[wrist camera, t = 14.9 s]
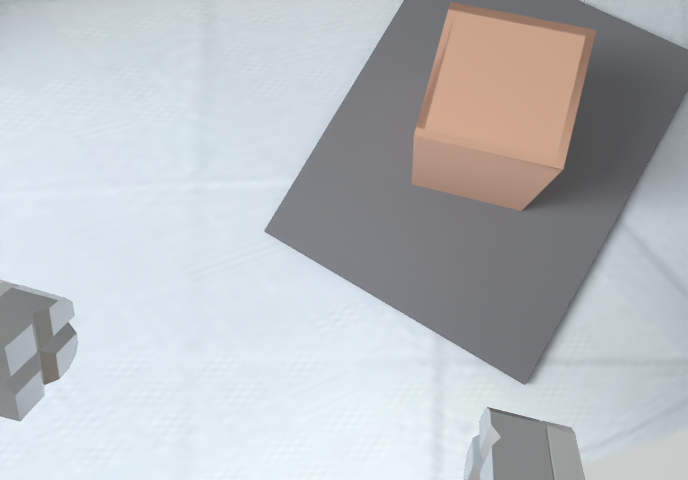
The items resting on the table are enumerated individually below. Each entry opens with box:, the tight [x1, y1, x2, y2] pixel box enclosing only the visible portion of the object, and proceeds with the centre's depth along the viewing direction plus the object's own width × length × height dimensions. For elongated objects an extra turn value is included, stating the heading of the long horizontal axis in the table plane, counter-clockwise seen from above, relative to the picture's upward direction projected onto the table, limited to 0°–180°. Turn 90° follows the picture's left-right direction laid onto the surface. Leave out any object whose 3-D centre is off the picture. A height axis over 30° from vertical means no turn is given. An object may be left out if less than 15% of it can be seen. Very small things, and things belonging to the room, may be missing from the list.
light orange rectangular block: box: [412, 2, 596, 211], centre depth 26 cm, size 6×6×8 cm
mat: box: [265, 0, 688, 385], centre depth 28 cm, size 16×20×5 cm
